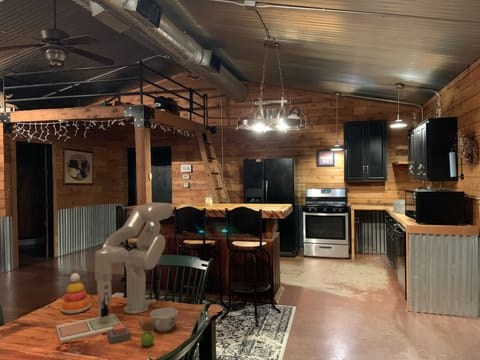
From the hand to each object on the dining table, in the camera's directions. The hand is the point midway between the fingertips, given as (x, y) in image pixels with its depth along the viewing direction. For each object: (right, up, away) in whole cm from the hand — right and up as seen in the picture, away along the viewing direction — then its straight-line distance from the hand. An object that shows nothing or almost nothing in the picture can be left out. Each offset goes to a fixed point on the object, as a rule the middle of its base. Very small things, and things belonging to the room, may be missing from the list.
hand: (103, 314), depth 167 cm
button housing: (+12, -5, -14) cm, 19 cm away
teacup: (+30, -5, -6) cm, 31 cm away
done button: (+12, -3, -14) cm, 18 cm away
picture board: (-5, -5, -3) cm, 8 cm away
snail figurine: (+26, -5, -20) cm, 33 cm away
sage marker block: (0, -2, 0) cm, 2 cm away
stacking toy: (-22, -5, +19) cm, 30 cm away
